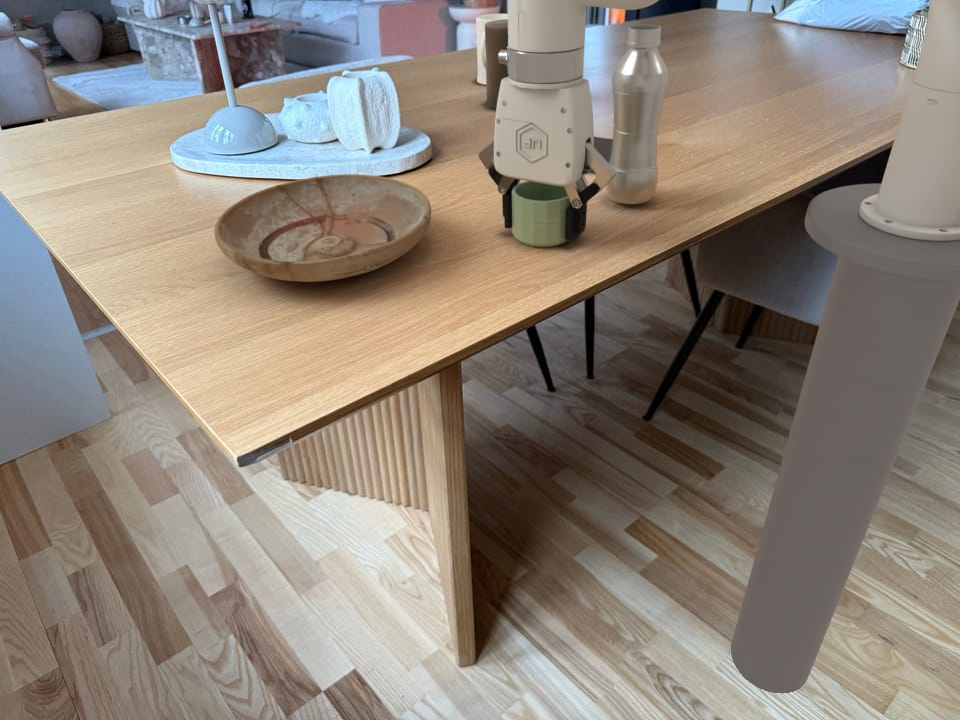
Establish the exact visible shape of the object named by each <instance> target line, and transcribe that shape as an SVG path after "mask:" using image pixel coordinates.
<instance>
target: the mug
mask: <svg viewBox="0 0 960 720" xmlns="http://www.w3.org/2000/svg"><path fill="white" fill-rule="evenodd" d="M504 19H508V13H488V14H481V15H478V16H476V17H475V33H476V34H475V35H476V58H477V59H476V61H477V64H476V65H477V77H476V82H477V83H478V84H479V85H484V86H487V85H486V49H485V23H487V22H490V21H494V20H504Z"/></svg>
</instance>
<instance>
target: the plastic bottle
mask: <svg viewBox="0 0 960 720" xmlns="http://www.w3.org/2000/svg"><path fill="white" fill-rule="evenodd" d="M661 35H662V26H661V25H657V24H650V23H649V24H647V23H646V24H643V23H642V24H641V23H640V24H633V25H629V26H628V28H627V38H626V41H625V46H627V47H628V48H627V51H626V52H625V54H624V55H623V56H622V58H621V59H620V60H619V62H618V64H617V65H616V67H615V68H614V71H613V75H612V77H611V79H612V80H611V81H612V83H611V85H612V86H611V87H612V101H613V102H612V103H613V130H612V131H613V134H612V135H613V137H612V139H613V142H612V148H611V155H610V162H609V164H610V165H611V166H612V167H613V168H614V170H615V171H616V176H615V177H614V178H613V179H612V180H611V181H610V182H609V183H608V184H607V185H606V186H605V192H606V194H607V195H608V197H609V198H610V200H611V201H614V202H616V203H619V204H625V205H638V204H639V205H640V204H643V203H647V202H648V201H650V200H651V199H652V198H653V196H654V195H655V193H656V190H657V187H658V182H659V178H658V177H659V172H658V171H659V169H658V163H657V157H658V155H657V154H658V153H657V152H658V133H659V125H660V119H661V113H662V109H663V105H664V100H665V96H666V93H667V87H668V85H669V84H668V83H669V72H668V68H667V66H666V63H665V60H664V59H663V57H662V56H661V54H660V52H659V49H658V47H660V46H661V43H662V39H661Z"/></svg>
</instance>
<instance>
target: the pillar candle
mask: <svg viewBox="0 0 960 720" xmlns="http://www.w3.org/2000/svg"><path fill="white" fill-rule="evenodd" d="M507 46H508V19H504V20H494V21H490V22H487V23H485V49H486V85H485V86H486V104H487V106H488V107H489V108H491V109H493V110H496V108H497V101H498V95H499V89H500V84H501V80H502V79H503V78H506V77H509V73H507V65H505V64H501V63H499V60H498V54H499V52H500V50H507Z"/></svg>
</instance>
